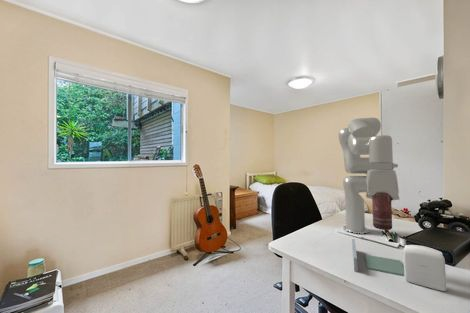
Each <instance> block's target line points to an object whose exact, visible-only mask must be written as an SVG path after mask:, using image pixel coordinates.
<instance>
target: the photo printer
mask: <svg viewBox="0 0 470 313" xmlns="http://www.w3.org/2000/svg"><path fill="white" fill-rule="evenodd" d="M402 255H403V258H402V259H403V267H404V276H403V277H404V278H403V279H404V280H405V281H406V282H409V283H412V284H416V285H419V286H422V287H426V288H430V289H433V290H438V291H442V292H446V291H447V276H446V275H447V273H446V260H445V257H444V255H443V252H442V251H440V250H438V249H436V248H435V249H434V248H431V247H428V246H426V245H425V246H424V245H417V244H407V245H406V244H405V245H404V248H403V252H402Z"/></svg>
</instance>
